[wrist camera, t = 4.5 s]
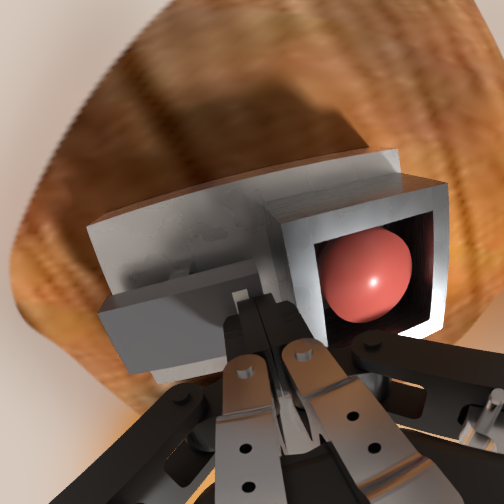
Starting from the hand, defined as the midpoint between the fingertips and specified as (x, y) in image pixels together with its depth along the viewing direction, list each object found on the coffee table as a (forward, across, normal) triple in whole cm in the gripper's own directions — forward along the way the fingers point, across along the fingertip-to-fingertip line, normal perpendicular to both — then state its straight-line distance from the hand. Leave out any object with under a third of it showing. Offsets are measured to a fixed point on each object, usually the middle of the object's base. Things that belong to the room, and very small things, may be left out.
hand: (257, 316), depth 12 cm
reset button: (+1, -5, 0) cm, 5 cm away
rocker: (+1, +3, 0) cm, 3 cm away
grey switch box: (+6, -1, 0) cm, 6 cm away
